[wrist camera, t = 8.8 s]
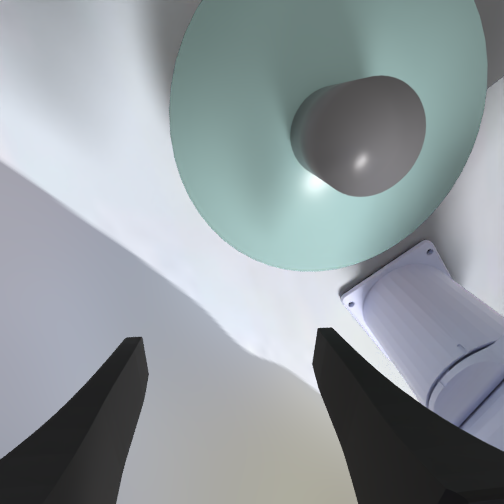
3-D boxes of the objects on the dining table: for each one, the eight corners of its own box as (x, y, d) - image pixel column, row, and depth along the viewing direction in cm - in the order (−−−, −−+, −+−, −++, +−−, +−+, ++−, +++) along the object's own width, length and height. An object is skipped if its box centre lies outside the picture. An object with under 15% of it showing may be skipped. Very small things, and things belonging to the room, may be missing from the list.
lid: (512, 157, 16) (614, 174, 12) (289, 308, 19) (308, 364, 15) (399, -199, 10) (524, -414, 6) (98, 101, 13) (42, 97, 9)
